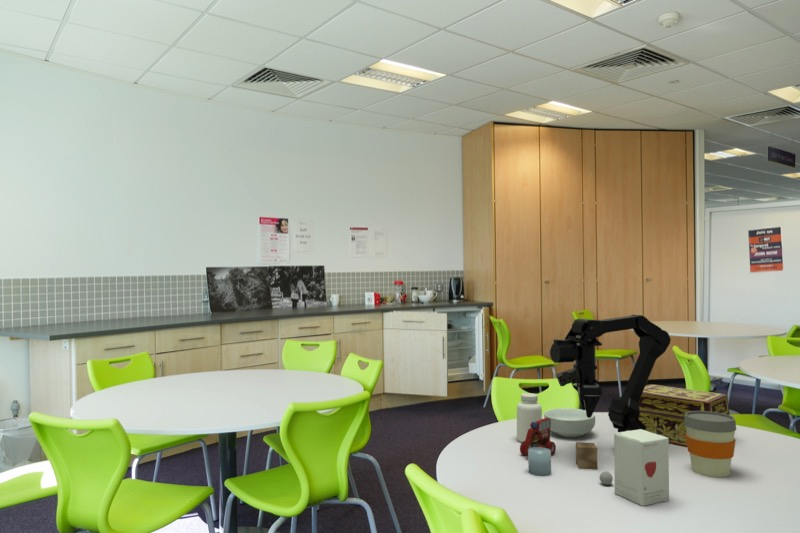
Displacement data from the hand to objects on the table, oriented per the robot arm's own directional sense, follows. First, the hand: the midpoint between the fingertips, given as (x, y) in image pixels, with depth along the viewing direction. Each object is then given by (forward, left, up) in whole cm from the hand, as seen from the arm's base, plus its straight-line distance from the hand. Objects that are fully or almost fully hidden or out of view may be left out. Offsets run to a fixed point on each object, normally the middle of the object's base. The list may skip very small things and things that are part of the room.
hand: (586, 413), depth 168 cm
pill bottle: (+18, -10, -13) cm, 24 cm away
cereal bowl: (+6, -22, -13) cm, 26 cm away
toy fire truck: (+14, +4, -13) cm, 19 cm away
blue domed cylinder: (+12, +19, -13) cm, 25 cm away
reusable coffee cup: (-32, +4, -13) cm, 35 cm away
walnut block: (0, +10, -13) cm, 16 cm away
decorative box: (-28, -29, -13) cm, 43 cm away
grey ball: (-5, +23, -11) cm, 26 cm away
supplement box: (-13, +29, -13) cm, 34 cm away
